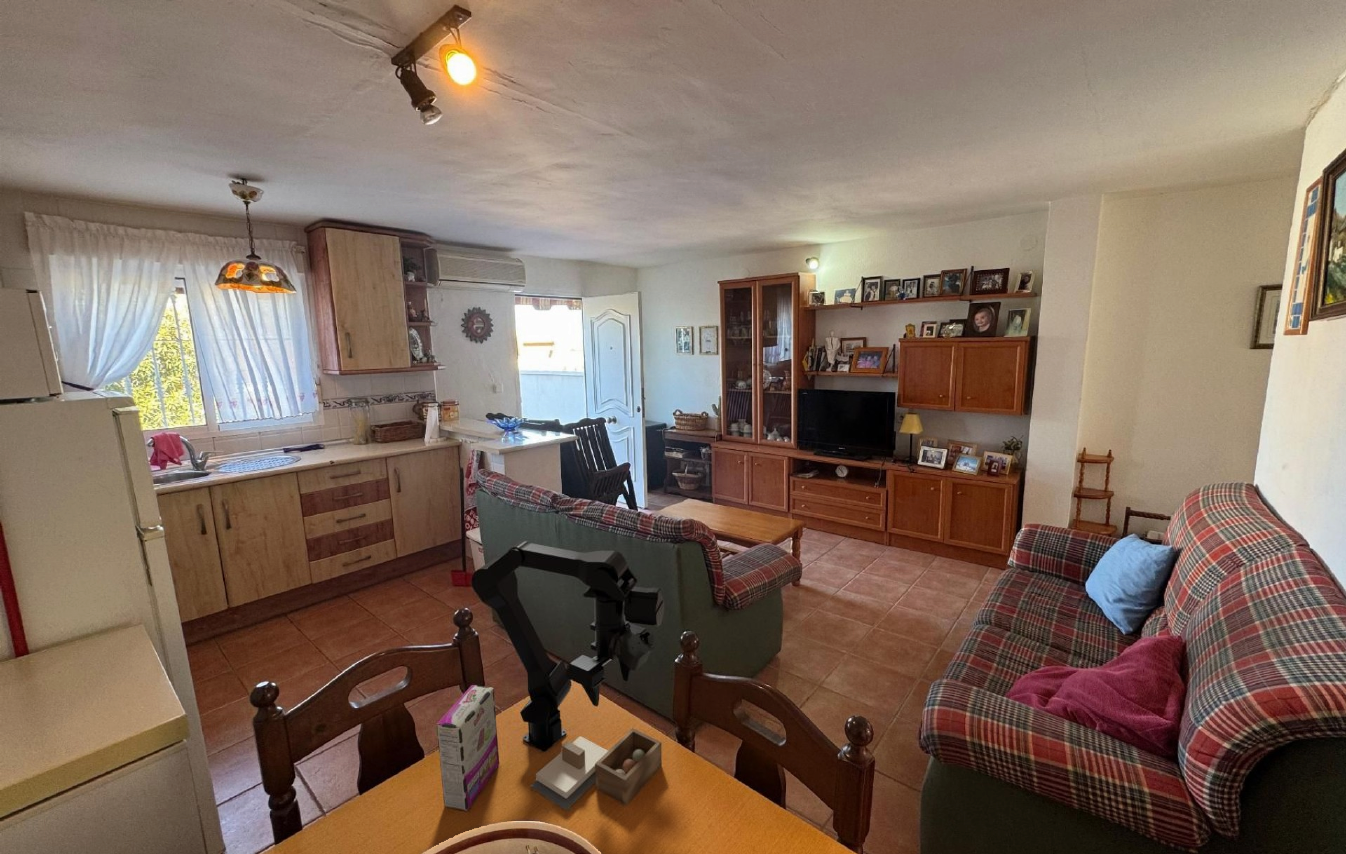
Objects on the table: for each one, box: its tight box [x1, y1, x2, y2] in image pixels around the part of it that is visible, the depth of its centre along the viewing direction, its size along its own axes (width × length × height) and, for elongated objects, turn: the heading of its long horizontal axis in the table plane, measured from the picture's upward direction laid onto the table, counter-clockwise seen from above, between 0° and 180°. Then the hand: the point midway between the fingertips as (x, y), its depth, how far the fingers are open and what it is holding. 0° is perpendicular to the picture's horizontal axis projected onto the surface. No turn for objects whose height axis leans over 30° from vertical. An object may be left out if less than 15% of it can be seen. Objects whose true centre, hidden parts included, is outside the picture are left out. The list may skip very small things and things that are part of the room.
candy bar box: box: [436, 684, 500, 812], centre depth 98 cm, size 11×5×16 cm, turn 168°
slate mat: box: [530, 772, 596, 812], centre depth 101 cm, size 9×13×1 cm
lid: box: [535, 736, 609, 799], centre depth 101 cm, size 12×8×5 cm, turn 146°
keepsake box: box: [595, 727, 663, 806], centre depth 101 cm, size 11×7×5 cm, turn 146°
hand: (611, 692), depth 106 cm, fingers open, 9 cm apart
